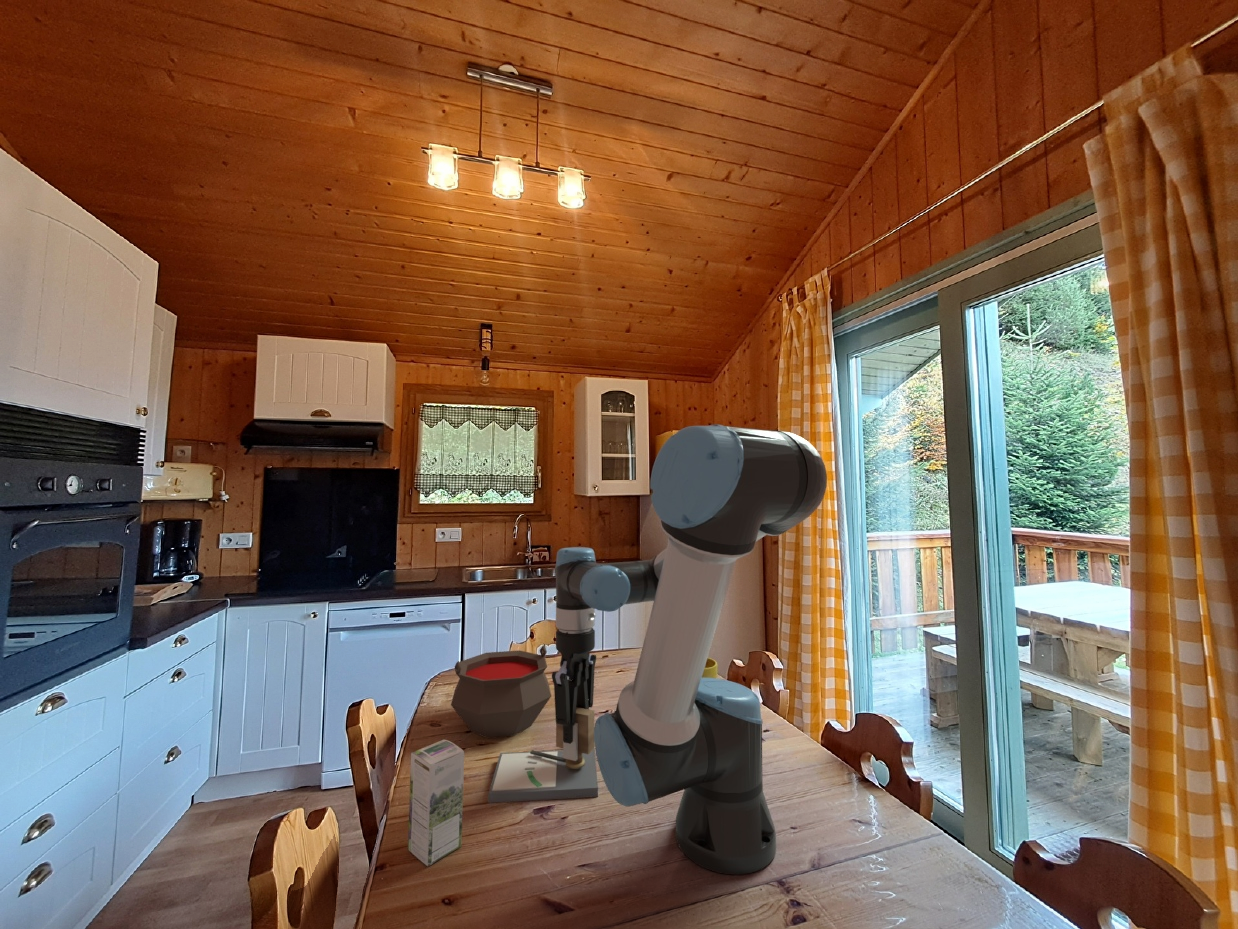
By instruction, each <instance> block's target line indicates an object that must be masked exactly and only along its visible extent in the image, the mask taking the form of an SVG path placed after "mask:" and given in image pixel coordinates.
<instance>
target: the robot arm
mask: <svg viewBox="0 0 1238 929" xmlns="http://www.w3.org/2000/svg"><path fill="white" fill-rule="evenodd" d="M649 484H650V490H652V492H653V493H652V494H651V495H650V499H651V500H650V501H651V504H652V507H653V510H654V511H655V514H656V516H658V518H659V519H660V528H661V530H662V531H663V533H664V534H665V535H666V537H667V539H668V542H667V547H665V549H663V550H662V551H661V552H659V553H658V554H657V555H655V556H654V557H653V558H652V559H651V558H650V559H645V560H634V561H623V562H609V563H608V562H607V563H600V562H599V563H598V562H597V561H596V555H595V551H594V549H593V548H591V547H584V546H583V547H581V546H579V547H578V546H576V547H575V546H573V547H564V548H560V549H558V550H557V552H556V559H555V561H556V563H555V566H554V568H555V602H556V603H555V627H556V631H555V650H556V651H558V652H559V653H560V655H561V657H560V662H559V670H558V671H553V672H552V674H551V679H552V682H553V687H554V688H553V693H554V695H553V696H554V711H555V712H554V713H555V714H554V716H555V725H556V724H560V725H563V748H562V750H563V758H565V759H569V760H573V761H576V760H577V759H578V723H575V717H576V707H579V708H584V709H589V710H590V708H592V707H594V706H593V705H594V691H595V668H596V664H597V663H596V661H597V654H590V652H592V651H593V650H594V649H595V646H596V634H595V632H596V630H595V629H594V627H595V624H596V623H595V621H596V620H595V618H596V617H597V613H596V612H595V611H596V610H597V611H601V612H602V611H603V612H607V613H608V612H614V611H617V610H619V609H621V607H623V606H625V605H630V604H631V605H632V604H640V603H645V602H646V603H648V602H653V603H652V606H651V607H652V608H651V611H650V616H649V620H648V623H647V628H646V630H645V636H644V639H643V643H642V648H641V653H640V656H639V659H638V660H639V661H638V664H637V667H636V673H635V676H634V680H632V681H631V682H629V683H628V684H626V685H625V686H624V687H623V689H622V690H621V691H620V693H619V696H618V700H617V704H616V709H615V711H614V712H611V713H610V712H605V713H604V714H603V715H600V716H599V717H598V718H597V719H596V720H595V722H594V749H595V757H596V759H597V764H598V767H599V770H600V773H601V776H602V779H603V781H604V784H605V786H606V788H607V790H608V792H609V793H610V795H611V797H612V798H613V800H615V802H616V803H618V804H620V805H621V806H623V807H626V808H629V807H633V806H636V805H637V806H638V805H640V804H644V805H647V804H649V802H652V801H656V800H657V799H661V798H663V797H666V796H669V795H672V794H675V793H678V792H681V791H683V793H682V795H681V796H682V797H681V799H680V803H679V806H678V809H677V813H676V817H675V839H676V843H677V845H678V847H679V848H680V850H681V851H682V853H683V854H684V855H685V856H686V857H687V858H688V859H689V860H691V861H692V862H693V863H694V864H696V865H698V866H700V867H702V868H704V869H706V870H709V871H712V872H715V873H719V874H727V875H747V874H752V873H754V872H755V873H756V872H758V871H760V870H762V869H764V868H765V867H767V866H768V865H770V863H771V862H772V861H773V860H774V858H775V856H776V852H777V835H776V833H777V832H776V826H775V824H774V821H773V818H772V815H771V811H770V809H769V805H768V802H767V800H766V797H765V794H764V788H763V787H764V786H763V783H764V782H763V724H764V723H763V722H764V721H763V719H762V712H761V710H762V709H761V701H760V698H759V697H758V695H757V694H756V693H755V691H753V690H752V689H750V688H748V687H747V686H745V685H742V684H741V683H738V682H734V681H731V680H726V679H722V678H717V677H716V678H702V675H703V671H704V668H705V665H706V661H707V658H709V654H710V651H711V647H712V643H713V640H714V637H715V633H716V630H717V627H718V624H719V620H720V617H721V613H722V610H723V606H724V602H725V600H726V597H727V592H728V590H729V586H730V584H731V583H730V582H731V579H732V576H733V573H734V570H735V566H736V563H737V560H738V559H741V558H743V557H745V556H748V555H750V554H751V553H752V552H753V551H754V547H755V545H756V543H757V541H759V540H761V539H762V538H763V537H766V536H771V537H774V536H776V537H777V536H780V535H783V534H784V533H786V532H788V531H789V530H790V529H792V528H794V527H796V526H798V524H800V523H802V522H803V521H805V520H807V518H809V517H810V516H812V515H813V514H814V513H815V511H816V510H817V509H818V508H819V506H820V505H821V503H822V502H823V499H824V497H825V494H826V490H827V487H828V473H827V469H826V465H825V462H824V460H823V458H822V456H821V455H820V453H819V451H818V450H817V449H816V448H815V447H814V446H813V445H812V444H811V443H810V441H807V440H806V439H805V438H803V437H802V436H799V435H797V434H795V433H792V432H789V431H783V430H774V429H773V430H770V429H769V430H767V429H757V428H745V427H739V426H738V427H736V426H728V425H727V426H725V425H722V424H710V425H691V426H690V425H689V426H686V427H684V428H682V429H680V430H678V431H677V432H676V433H674V434H673V435H671V436H669V438H668V439H666V440H665V442H664V443H663V444H662V446H661V448H660V449H659V451H658V453H657V455H656V458H655V461H654V463H653V466H652V470H651V475H650V483H649Z"/></svg>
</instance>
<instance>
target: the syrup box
mask: <svg viewBox="0 0 1238 929" xmlns="http://www.w3.org/2000/svg"><path fill="white" fill-rule="evenodd" d="M464 768H465V751H464V750H463V749H462V748H461V747H460V746H458V745H457V744H455V743H454V742H452V741H450V740H447V739H442V740H439V741H437V742H434V743H432V744H430V745H426V746H425V747H422V748H420V749H417V750H415V751H412V752H411V754H410V777H409V778H410V779H409V809H408V837H407V838H408V839H407V849H408V852H410V853H411V854H412V855H414V857H416V858H417V859H418V860H419V861H420V862H422V863H423V864H424V865H425V866H426V867H430V866H432V865H433V864H435V863H436V862H438V861H439V860H441V859H443V858H444V857H447V856H448V855H450V854H451V853H453V852H454V851H456V850H458V849H459V848H461V847H462V842H463V841H462V837H463V811H464V810H463V809H464V808H463V805H464V803H463V802H464V800H463V799H464V778H465V776H464V775H465V774H464V772H465V769H464Z"/></svg>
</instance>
